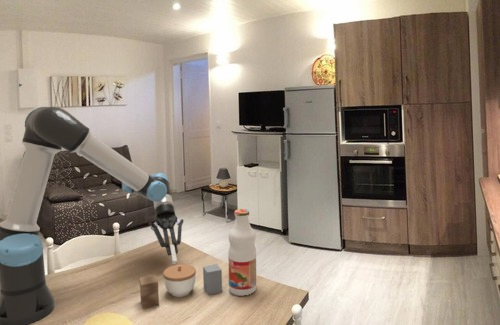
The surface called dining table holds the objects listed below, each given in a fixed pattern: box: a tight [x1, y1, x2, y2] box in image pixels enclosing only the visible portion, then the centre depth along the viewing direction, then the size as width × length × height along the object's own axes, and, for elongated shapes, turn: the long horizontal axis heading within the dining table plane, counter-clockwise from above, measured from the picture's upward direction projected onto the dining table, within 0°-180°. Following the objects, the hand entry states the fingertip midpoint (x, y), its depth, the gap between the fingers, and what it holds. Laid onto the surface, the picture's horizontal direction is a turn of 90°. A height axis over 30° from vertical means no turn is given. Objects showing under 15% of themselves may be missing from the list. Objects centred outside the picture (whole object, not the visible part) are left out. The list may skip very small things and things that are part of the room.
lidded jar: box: [162, 263, 197, 298], centre depth 119 cm, size 11×11×9 cm
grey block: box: [202, 263, 223, 296], centre depth 121 cm, size 5×5×8 cm
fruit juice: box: [227, 208, 257, 297], centre depth 119 cm, size 9×9×28 cm
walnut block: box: [139, 274, 160, 310], centre depth 113 cm, size 5×5×8 cm
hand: (174, 262), depth 131 cm, fingers closed
